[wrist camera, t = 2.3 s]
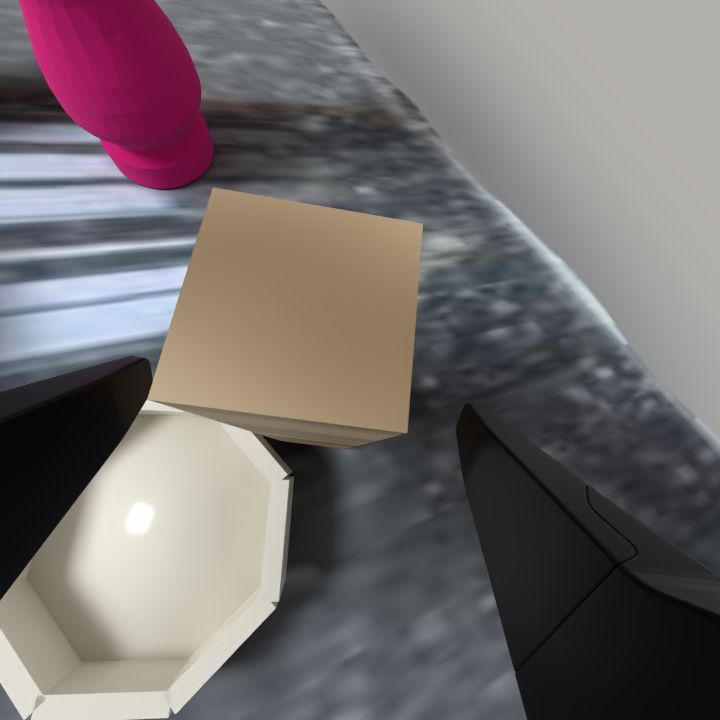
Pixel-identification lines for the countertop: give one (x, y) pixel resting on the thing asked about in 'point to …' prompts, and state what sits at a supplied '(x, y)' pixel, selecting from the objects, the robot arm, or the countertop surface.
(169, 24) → the pepper mill
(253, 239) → the tall wooden post
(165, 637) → the bowl
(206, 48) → the countertop surface
